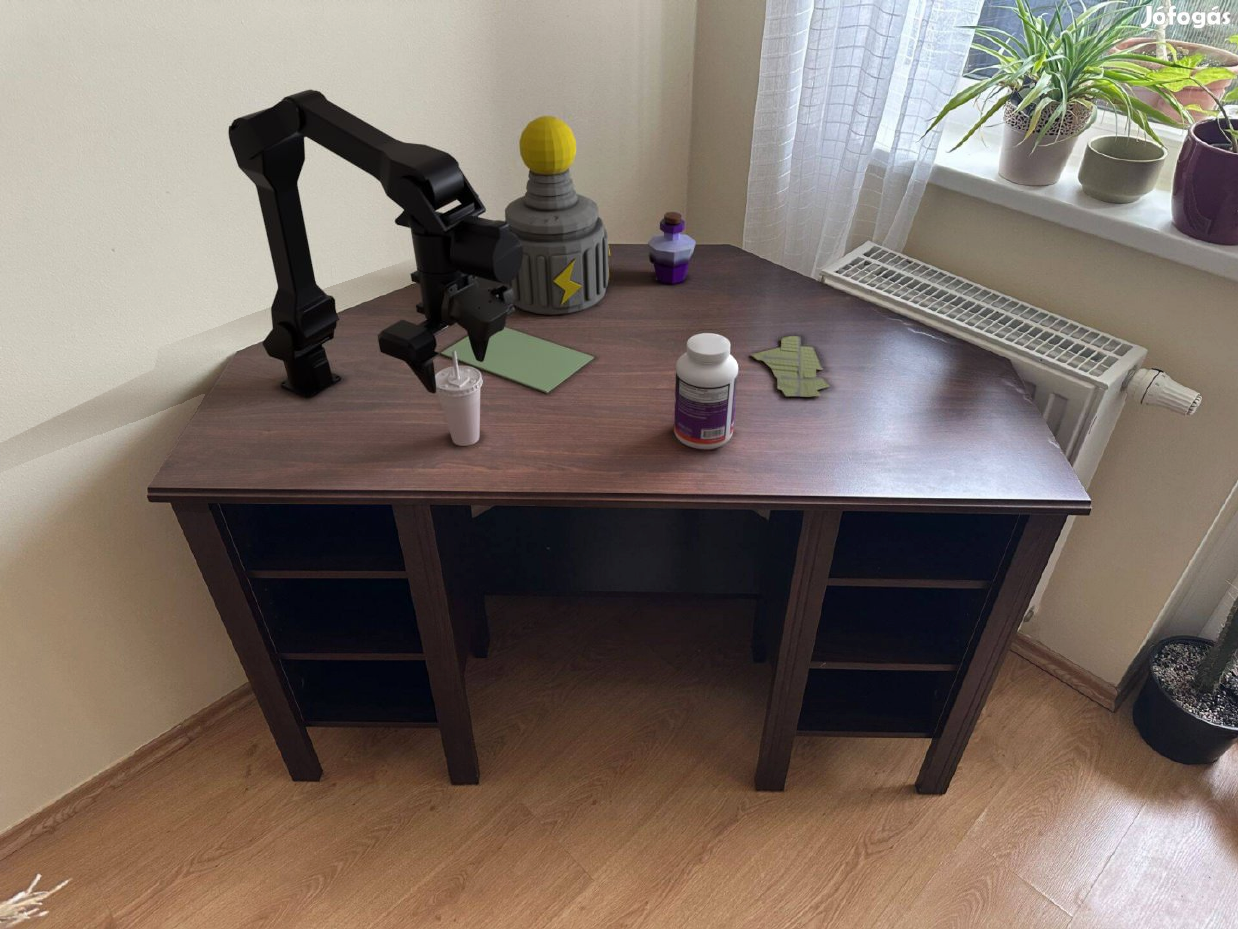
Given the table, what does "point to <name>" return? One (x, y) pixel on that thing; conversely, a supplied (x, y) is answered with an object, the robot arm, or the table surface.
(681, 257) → the potion bottle
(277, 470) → the table surface
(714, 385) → the pill bottle
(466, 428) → the smoothie
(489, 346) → the green cloth
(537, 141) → the decorative lamp
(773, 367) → the olive flat irregular sheet
